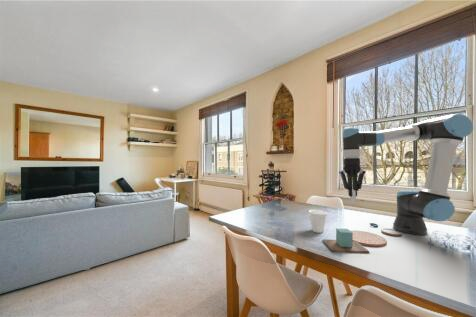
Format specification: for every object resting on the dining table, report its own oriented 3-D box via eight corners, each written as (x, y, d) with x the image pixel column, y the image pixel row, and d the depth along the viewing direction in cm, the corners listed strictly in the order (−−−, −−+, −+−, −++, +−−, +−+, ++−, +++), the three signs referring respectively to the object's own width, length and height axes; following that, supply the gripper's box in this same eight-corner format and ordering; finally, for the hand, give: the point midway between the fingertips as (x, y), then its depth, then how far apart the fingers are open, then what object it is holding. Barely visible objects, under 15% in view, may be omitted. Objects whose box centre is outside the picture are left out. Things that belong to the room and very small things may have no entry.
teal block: (347, 242, 98) (347, 228, 98) (352, 247, 92) (352, 232, 92) (336, 242, 98) (336, 228, 98) (340, 246, 93) (340, 232, 93)
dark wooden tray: (355, 242, 100) (355, 227, 100) (369, 253, 89) (369, 237, 89) (322, 240, 102) (322, 227, 102) (331, 251, 90) (331, 236, 90)
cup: (329, 235, 110) (329, 214, 110) (309, 233, 112) (309, 213, 112) (324, 228, 119) (325, 210, 119) (307, 227, 121) (307, 209, 121)
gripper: (360, 157, 110) (361, 200, 110) (335, 158, 110) (337, 201, 110) (368, 157, 102) (370, 203, 102) (342, 158, 103) (343, 204, 103)
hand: (353, 202), depth 106 cm, fingers closed
